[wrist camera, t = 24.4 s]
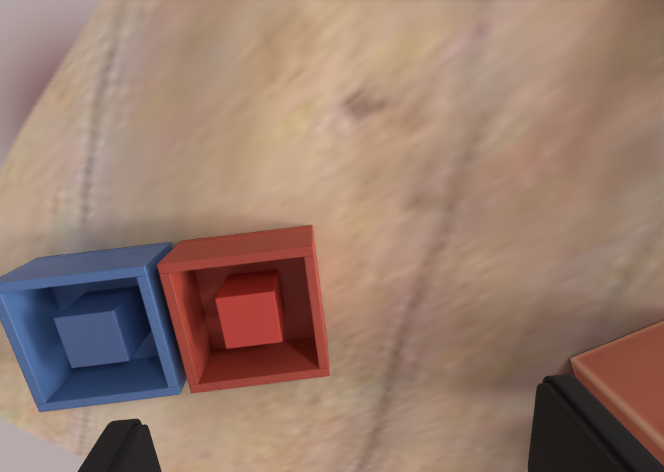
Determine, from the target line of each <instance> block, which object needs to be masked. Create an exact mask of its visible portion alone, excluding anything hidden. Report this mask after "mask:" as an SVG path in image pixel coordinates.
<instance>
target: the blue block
mask: <svg viewBox="0 0 664 472" xmlns="http://www.w3.org/2000/svg"><path fill="white" fill-rule="evenodd" d="M54 321H55V324H56V327H57V330H58V332H59V335H60V338H61V340H62V343H63V346H64V348H65V351H66V354H67V356H68V359H69V362H70V364H71V367H72V368H77V367H85V366H93V365H101V364H109V363H117V362H125V361H129V360H130V359H131V357H132V356H133V355H134V353H135V352H136V350H137V349H138V348H139V346H140V345H141V344H142V342H143V341H144V340H145V338H146V337H147V335H148V334H149V333H150V331H151V329H150V326H149V322H148V319H147V315H146V312H145V308H144V305H143V301H142V298H141V295H140V291H139V288H138V286H134V287H125V288H117V289H109V290H100V291H92V292H86V293H85V294H83V295H82V296H81V297H80V298H78V299H77V300H76V301H75V302H73V303H72V304H71V305H69V306H68V307H67V308H66V309H64V310H63V311H62V312H61V313H59V314H58V315H57V316H56V317H54Z"/></svg>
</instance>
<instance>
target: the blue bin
mask: <svg viewBox="0 0 664 472" xmlns="http://www.w3.org/2000/svg"><path fill="white" fill-rule="evenodd" d="M171 250H172V247H171V243H170V242H167V243H159V244H150V245H142V246H133V247H125V248H116V249H108V250H100V251H91V252H83V253H74V254H66V255H57V256H49V257H40V258H36V259H34V260H32V261H30V262H28V263H26V264H25V265H23V266H21V267H19V268H17V269H15V270H13V271H11V272H9V273H7V274H5V275H4V276H2V277H0V320H1V322H2V325H3V327H4V330H5V332H6V334H7V337H8V339H9V341H10V344H11V346H12V349H13V351H14V353H15V356H16V358H17V360H18V363H19V365H20V368H21V370H22V372H23V375H24V377H25V379H26V382H27V384H28V386H29V389H30V391H31V394H32V396H33V398H34V401H35V403H36V404H37V408H38V410H39V412H45V411H53V410H61V409H69V408H77V407H85V406H93V405H101V404H109V403H116V402H124V401H132V400H140V399H148V398H156V397H164V396H172V395H179V394H180V393H181V391H182V389H183V386H184V384H185V382H186V380H187V376H186V372H185V368H184V364H183V361H182V357H181V353H180V349H179V346H178V342H177V338H176V334H175V331H174V327H173V323H172V319H171V316H170V312H169V308H168V304H167V301H166V297H165V293H164V289H163V286H162V282H161V278H160V273H159V270H158V266H157V264H158V263H159V262H160V261H161V260H162V259H163V258H164V257H165V256H166V255H167V254H168V253H169V252H170V251H171ZM134 286H138V288H139V291H140V295H141V298H142V301H143V305H144V308H145V312H146V315H147V319H148V322H149V326H150V329H151V331H150V333H149V334H148V335H147V337H146V338H145V340H144V341H143V342H142V344H141V345H140V346H139V348H138V349H137V350H136V352H135V353H134V355H133V356H132V357H131V359H130V360H129V361H125V362H117V363H109V364H101V365H93V366H85V367H77V368H72V367H71V364H70V362H69V359H68V356H67V354H66V351H65V348H64V346H63V343H62V340H61V338H60V335H59V332H58V330H57V327H56V324H55V321H54V317H56V316H57V315H58V314H59V313H61V312H62V311H63V310H64V309H66V308H67V307H68V306H69V305H71V304H72V303H73V302H75V301H76V300H77V299H78V298H80V297H81V296H82V295H83V294H85V293H86V292H92V291H100V290H109V289H117V288H125V287H134Z"/></svg>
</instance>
